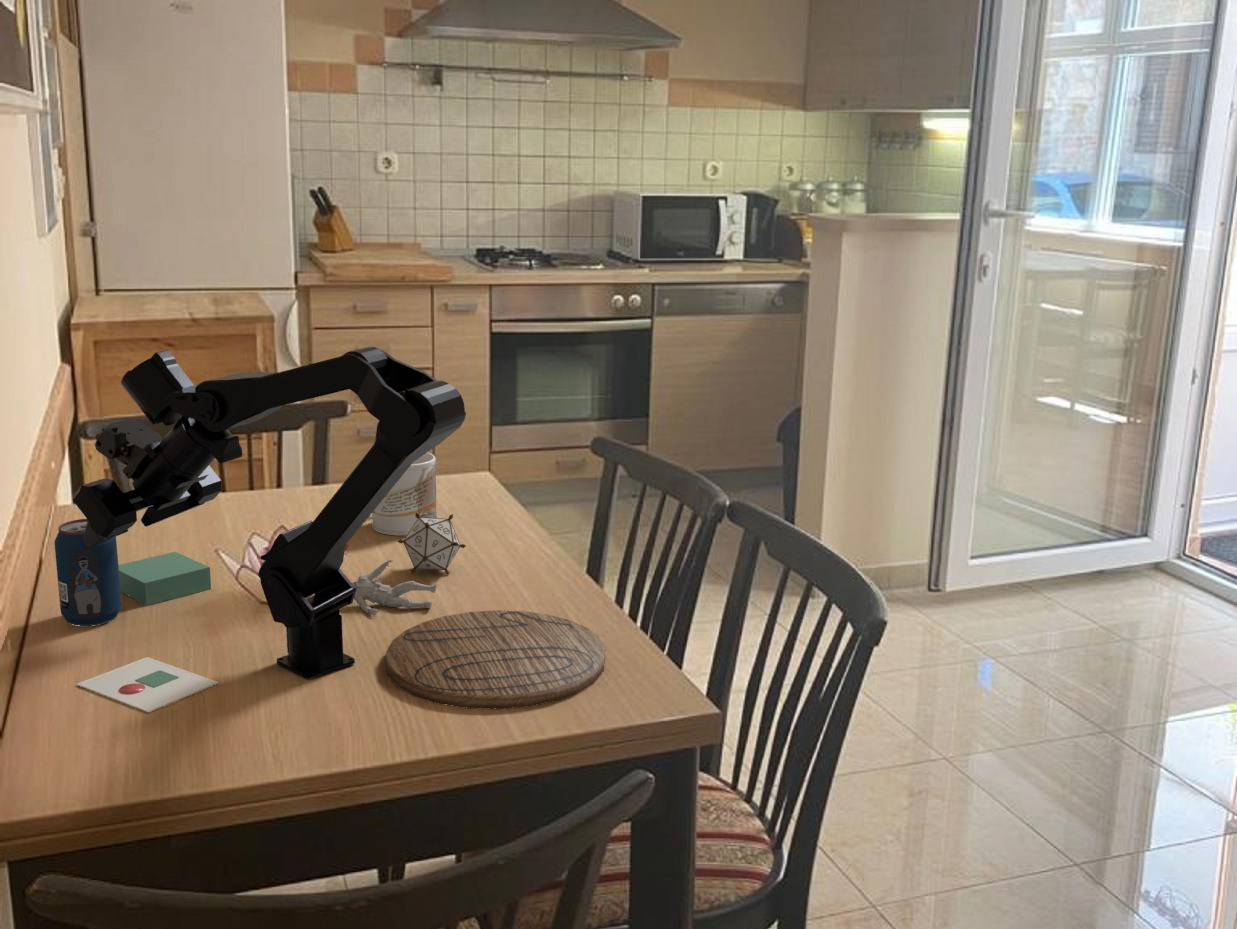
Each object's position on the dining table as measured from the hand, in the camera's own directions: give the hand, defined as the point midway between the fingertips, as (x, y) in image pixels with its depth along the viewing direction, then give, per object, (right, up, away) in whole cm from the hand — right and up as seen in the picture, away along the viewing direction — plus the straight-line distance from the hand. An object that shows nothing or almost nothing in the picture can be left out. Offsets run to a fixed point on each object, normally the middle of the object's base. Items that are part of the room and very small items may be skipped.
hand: (115, 533), depth 150 cm
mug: (+27, -1, +45) cm, 53 cm away
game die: (+34, -7, +25) cm, 43 cm away
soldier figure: (+31, -10, +11) cm, 34 cm away
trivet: (+46, -15, -5) cm, 49 cm away
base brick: (0, -8, +15) cm, 17 cm away
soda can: (-5, -11, +5) cm, 13 cm away
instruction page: (+9, -16, -14) cm, 23 cm away
